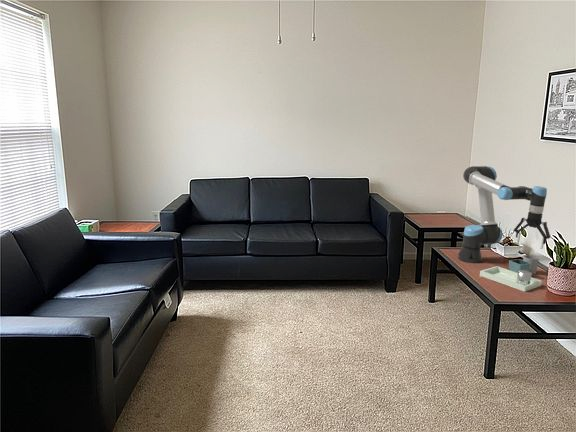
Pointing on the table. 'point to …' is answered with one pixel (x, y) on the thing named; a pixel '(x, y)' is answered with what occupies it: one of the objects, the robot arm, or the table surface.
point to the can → (523, 277)
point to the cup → (533, 261)
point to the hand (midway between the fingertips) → (529, 245)
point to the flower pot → (518, 265)
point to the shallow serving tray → (508, 278)
